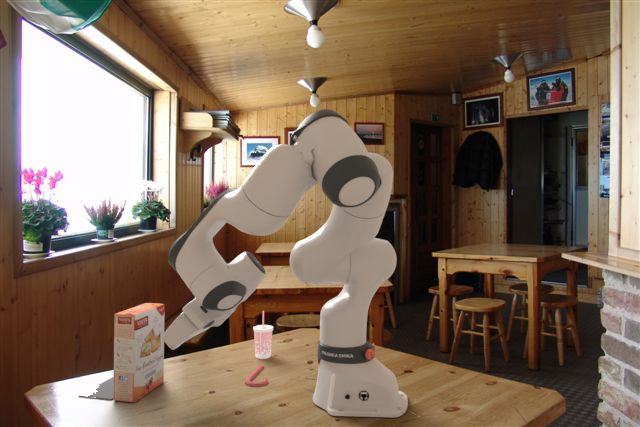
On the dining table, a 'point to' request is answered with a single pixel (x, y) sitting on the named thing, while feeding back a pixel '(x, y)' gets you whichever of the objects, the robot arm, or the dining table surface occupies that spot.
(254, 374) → the candy cane
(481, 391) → the dining table surface
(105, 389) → the rubber mat
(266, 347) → the beverage cup
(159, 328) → the cracker box
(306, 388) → the dining table surface
